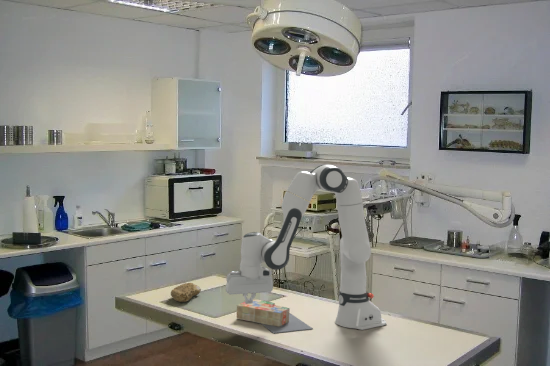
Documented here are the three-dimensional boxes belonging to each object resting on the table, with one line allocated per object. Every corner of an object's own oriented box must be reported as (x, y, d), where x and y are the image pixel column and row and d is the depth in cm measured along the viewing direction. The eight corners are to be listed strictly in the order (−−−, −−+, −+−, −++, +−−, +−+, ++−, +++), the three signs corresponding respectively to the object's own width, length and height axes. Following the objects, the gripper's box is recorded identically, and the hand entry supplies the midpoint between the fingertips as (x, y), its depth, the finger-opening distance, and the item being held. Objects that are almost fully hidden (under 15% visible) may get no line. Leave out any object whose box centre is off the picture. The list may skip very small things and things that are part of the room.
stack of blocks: (279, 327, 262) (292, 319, 273) (279, 312, 262) (293, 305, 273) (236, 318, 273) (250, 311, 283) (236, 304, 272) (250, 298, 283)
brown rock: (183, 295, 313) (159, 295, 296) (188, 280, 314) (164, 279, 296) (204, 304, 307) (181, 305, 290) (209, 289, 307) (185, 289, 290)
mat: (286, 311, 286) (286, 310, 286) (312, 329, 263) (312, 328, 263) (250, 315, 279) (250, 314, 279) (273, 333, 255) (273, 332, 255)
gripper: (229, 273, 255) (227, 306, 256) (275, 271, 263) (273, 303, 264) (224, 270, 261) (223, 302, 262) (269, 268, 269) (267, 299, 270)
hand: (248, 303), depth 263 cm, fingers closed
